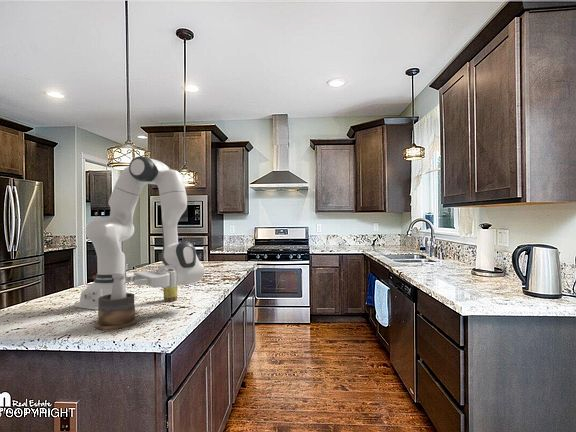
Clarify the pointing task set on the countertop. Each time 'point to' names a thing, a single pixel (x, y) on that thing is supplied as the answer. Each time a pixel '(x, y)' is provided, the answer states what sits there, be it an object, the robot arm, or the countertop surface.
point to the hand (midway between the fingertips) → (129, 281)
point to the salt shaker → (118, 286)
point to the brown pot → (116, 313)
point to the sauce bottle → (170, 294)
